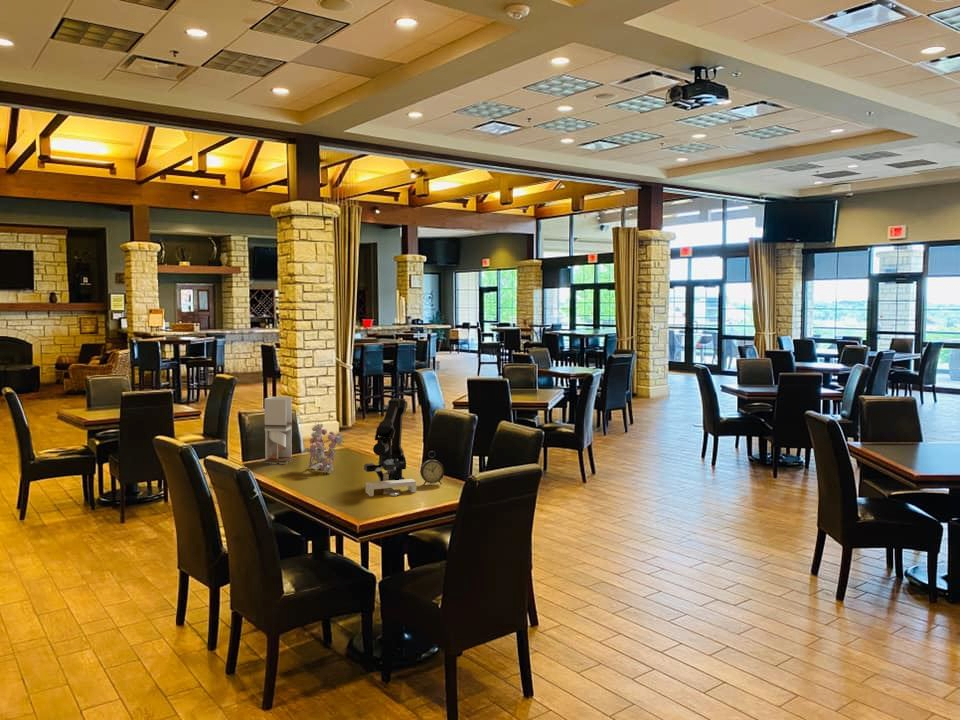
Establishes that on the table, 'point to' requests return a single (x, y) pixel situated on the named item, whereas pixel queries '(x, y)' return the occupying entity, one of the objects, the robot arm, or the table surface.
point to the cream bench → (390, 485)
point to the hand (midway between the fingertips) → (384, 484)
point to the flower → (322, 448)
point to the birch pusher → (386, 478)
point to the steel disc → (393, 493)
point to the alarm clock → (432, 471)
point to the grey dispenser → (278, 429)
